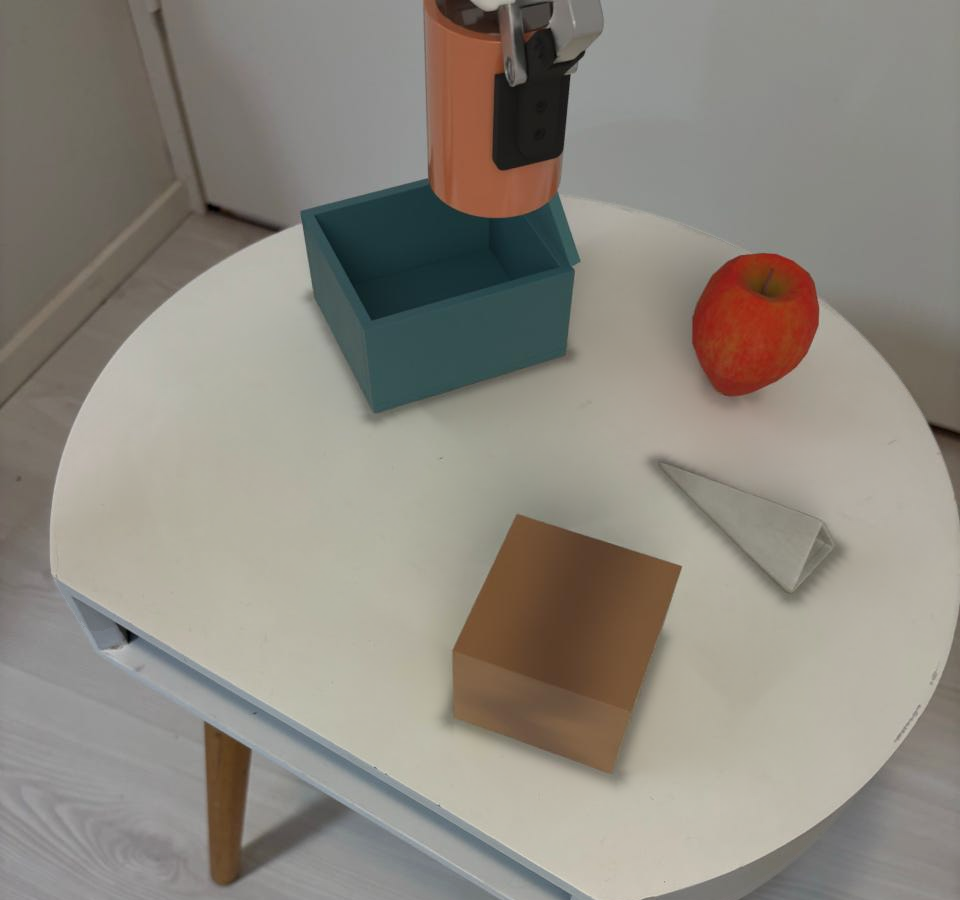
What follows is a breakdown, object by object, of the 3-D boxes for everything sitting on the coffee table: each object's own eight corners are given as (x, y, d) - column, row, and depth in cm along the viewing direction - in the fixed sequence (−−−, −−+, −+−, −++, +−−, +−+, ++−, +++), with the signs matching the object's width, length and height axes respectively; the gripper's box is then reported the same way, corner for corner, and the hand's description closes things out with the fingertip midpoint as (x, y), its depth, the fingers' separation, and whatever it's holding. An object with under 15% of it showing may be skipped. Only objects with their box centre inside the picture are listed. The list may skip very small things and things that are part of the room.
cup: (406, 197, 47) (397, 18, 40) (459, 124, 50) (459, -54, 43) (532, 232, 46) (545, 55, 39) (579, 155, 49) (598, -22, 42)
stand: (453, 717, 60) (451, 650, 53) (511, 589, 65) (516, 513, 58) (611, 774, 58) (630, 712, 52) (659, 638, 63) (682, 565, 56)
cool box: (373, 414, 73) (364, 331, 66) (313, 297, 79) (299, 210, 73) (565, 355, 76) (575, 270, 70) (493, 247, 83) (495, 160, 76)
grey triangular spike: (615, 509, 68) (788, 586, 62) (647, 447, 68) (824, 519, 62) (641, 532, 73) (804, 605, 67) (671, 474, 73) (837, 543, 67)
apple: (733, 450, 71) (773, 333, 62) (651, 382, 75) (677, 261, 66) (813, 396, 74) (863, 276, 65) (730, 333, 78) (766, 210, 68)
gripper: (307, -518, 33) (355, 35, 49) (514, -347, 25) (493, 252, 41) (512, -534, 35) (496, 6, 50) (769, -378, 27) (656, 209, 42)
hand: (495, 112), depth 45 cm, fingers closed on cup, 6 cm apart
